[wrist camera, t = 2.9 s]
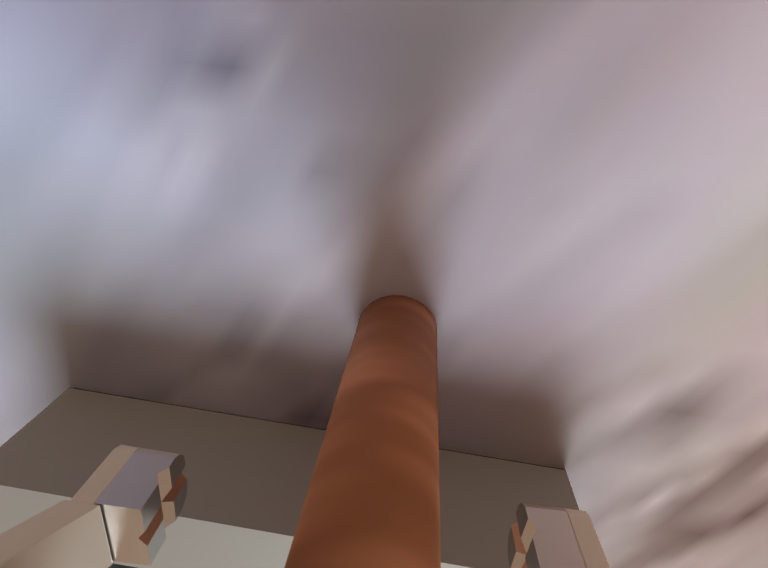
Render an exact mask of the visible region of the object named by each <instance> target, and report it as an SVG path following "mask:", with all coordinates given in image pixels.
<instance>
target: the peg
mask: <svg viewBox="0 0 768 568" xmlns="http://www.w3.org/2000/svg"><path fill="white" fill-rule="evenodd" d="M284 568H441V553H440V493H439V434H438V375H437V327H436V323H435V320H434V318H433V316H432V314H431V313H430V311H429V310H428V309H427V308H426V307H425V306H424V305H423V304H421V303H420V302H418V301H416V300H414V299H412V298H409V297H405V296H387V297H383V298H380V299H378V300H376V301H374V302H373V303H371V304H370V305H369V306H368V307H367V308H366V309H365V310H364V312H363V313H362V315H361V317H360V320H359V323H358V327H357V330H356V333H355V336H354V340H353V343H352V346H351V350H350V353H349V356H348V360H347V363H346V366H345V369H344V373H343V376H342V379H341V383H340V386H339V389H338V393H337V396H336V399H335V402H334V406H333V409H332V412H331V416H330V419H329V422H328V426H327V429H326V432H325V435H324V439H323V442H322V445H321V449H320V452H319V455H318V459H317V462H316V465H315V468H314V472H313V475H312V478H311V482H310V485H309V488H308V491H307V495H306V498H305V501H304V505H303V508H302V511H301V515H300V518H299V521H298V524H297V528H296V531H295V534H294V538H293V541H292V544H291V548H290V551H289V554H288V557H287V561H286V564H285V567H284Z"/></svg>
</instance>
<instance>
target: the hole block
mask: <svg viewBox="0 0 768 568" xmlns="http://www.w3.org/2000/svg"><path fill="white" fill-rule="evenodd" d="M325 432H326V430H320V429H314V428H308V427H302V426H296V425H290V424H284V423H278V422H272V421H266V420H260V419H254V418H248V417H242V416H236V415H230V414H224V413H217V412H211V411H205V410H199V409H193V408H187V407H181V406H175V405H169V404H163V403H157V402H151V401H145V400H139V399H133V398H127V397H121V396H115V395H109V394H103V393H97V392H91V391H85V390H79V389H73V388H69V389H68V390H67V391H65V392H64V393H63V394H62V395H61V396H60V397H58V398H57V399H56V400H55V401H54V402H53V403H51V404H50V405H49V406H48V407H47V408H45V409H44V410H43V411H42V412H41V413H40V414H38V415H37V416H36V417H35V418H34V419H33V420H31V421H30V422H29V423H28V424H27V425H26V426H24V427H23V428H22V429H21V430H20V431H18V432H17V433H16V434H15V435H14V436H13V437H11V438H10V439H9V440H8V441H7V442H6V443H4V444H3V445H2V446H1V447H0V534H1V533H3V532H5V531H7V530H9V529H11V528H13V527H14V526H16V525H18V524H20V523H22V522H24V521H26V520H27V519H29V518H31V517H33V516H35V515H37V514H39V513H40V512H42V511H44V510H46V509H48V508H50V507H52V506H53V505H55V504H57V503H59V502H61V501H63V500H68V501H70V500H71V499H72V498H73V497H74V495H75V494H76V493H77V492H78V491H79V489H80V488H81V487H82V486H83V485H84V484H85V482H86V481H87V480H88V479H89V478H90V476H91V475H92V474H93V473H94V472H95V471H96V469H97V468H98V467H99V466H100V465H101V463H102V462H103V461H104V460H105V459H106V458H107V456H108V455H109V454H110V453H111V452H112V450H113V449H115V448H116V447H118V446H119V445H127V446H133V447H139V448H146V449H152V450H158V451H164V452H170V453H176V454H181V455H184V459H185V467H184V469H183V470H182V472H181V473H182V474H183V475H184V476H185V477H186V479H187V486H188V487H187V496H186V499H185V502H184V505H183V508H182V510H181V512H180V514H179V516H178V518H177V520H176V521H175V522H173V523H172V524H170V525H169V526H167V527H166V528H165V533H166V539H165V541H164V543H163V545H162V546H161V548H160V550H159V552H158V553H157V555H156V557H155V559H154V560H153V562H152V564H151V566H149V565H141V564H132V563H124V562H115V561H113V564H112V565H111V566H109V567H108V568H284V567H285V564H286V561H287V557H288V554H289V551H290V548H291V544H292V541H293V538H294V534H295V531H296V528H297V524H298V521H299V518H300V515H301V511H302V508H303V505H304V501H305V498H306V495H307V491H308V488H309V485H310V482H311V478H312V475H313V472H314V468H315V465H316V462H317V459H318V455H319V452H320V449H321V445H322V442H323V439H324V435H325ZM439 493H440V553H441V568H510V566H509V560H508V549H507V547H508V536H509V532H510V529H511V526H512V525H513V524H515V523H516V522H517V517H516V510H517V508H518V505H519V504H520V503H521V502H523V503H530V504H538V505H546V506H554V507H561V508H566V509H573V510H579V508H578V505H577V502H576V499H575V497H574V494H573V491H572V488H571V485H570V482H569V479H568V476H567V473H566V470H561V469H555V468H549V467H543V466H537V465H531V464H525V463H519V462H513V461H507V460H501V459H495V458H489V457H483V456H477V455H471V454H465V453H459V452H453V451H447V450H441V449H439Z"/></svg>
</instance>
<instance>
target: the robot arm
mask: <svg viewBox="0 0 768 568" xmlns="http://www.w3.org/2000/svg"><path fill="white" fill-rule="evenodd" d="M184 467H185V459H184V455H181V454H176V453H170V452H164V451H158V450H152V449H146V448H139V447H133V446H127V445H119V446H118V447H116V448H115V449H113V450H112V452H111V453H110V454H109V455H108V456H107V458H106V459H105V460H104V461H103V462H102V463H101V465H100V466H99V467H98V468H97V469H96V471H95V472H94V473H93V474H92V475H91V476H90V478H89V479H88V480H87V481H86V482H85V484H84V485H83V486H82V487H81V488H80V489H79V491H78V492H77V493H76V494H75V495H74V497H73V498H72V499H71V500H70V501H68V500H63V501H61V502H59V503H57V504H55V505H53V506H52V507H50V508H48V509H46V510H44V511H42V512H40V513H39V514H37V515H35V516H33V517H31V518H29V519H27V520H26V521H24V522H22V523H20V524H18V525H16V526H14V527H13V528H11V529H9V530H7V531H5V532H3V533H1V534H0V568H108V567H109V566H111V565H112V564H113V561H115V562H124V563H132V564H141V565H149V566H151V564H152V562H153V560H154V559H155V557H156V555H157V553H158V552H159V550H160V548H161V546H162V545H163V543H164V541H165V539H166V533H165V528H166V527H167V526H169V525H170V524H172V523H173V522H175V521H176V520H177V518H178V516H179V514H180V512H181V510H182V508H183V505H184V502H185V499H186V496H187V487H188V486H187V479H186V477H185V476H184V475H183V474H182V473H181V472H182V470H183V469H184ZM516 517H517V522H516V523H515V524H513V525H512V526H511V529H510V532H509V536H508V547H507V549H508V560H509V566H510V568H610V567H609V565H608V562H607V560H606V557H605V555H604V552H603V549H602V547H601V544H600V542H599V539H598V537H597V534H596V532H595V529H594V527H593V524H592V521H591V519H590V516H589V515H588V514H587V512H586V511H581V510H573V509H566V508H561V507H554V506H546V505H538V504H530V503H523V502H521V503H520V504H519V505H518V508H517V510H516Z"/></svg>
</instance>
